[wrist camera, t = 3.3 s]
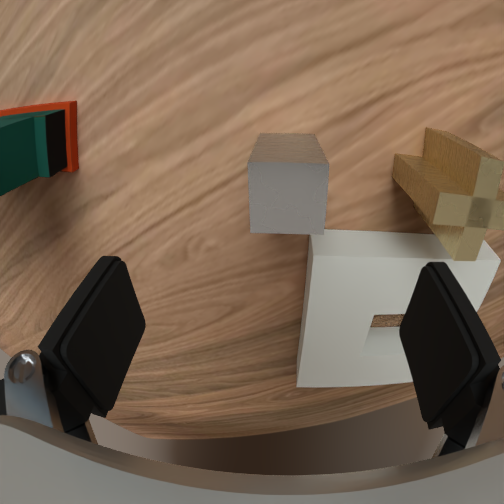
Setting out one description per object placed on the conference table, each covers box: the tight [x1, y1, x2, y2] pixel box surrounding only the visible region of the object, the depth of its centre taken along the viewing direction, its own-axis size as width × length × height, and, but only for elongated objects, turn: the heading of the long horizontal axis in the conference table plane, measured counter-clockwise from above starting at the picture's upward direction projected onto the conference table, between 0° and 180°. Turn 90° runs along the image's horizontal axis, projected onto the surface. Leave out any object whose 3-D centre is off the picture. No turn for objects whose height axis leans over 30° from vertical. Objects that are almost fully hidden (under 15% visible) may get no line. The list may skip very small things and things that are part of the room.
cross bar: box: [392, 127, 504, 261], centre depth 17 cm, size 7×7×8 cm
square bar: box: [248, 133, 329, 235], centre depth 18 cm, size 4×4×8 cm
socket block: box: [297, 229, 501, 387], centre depth 27 cm, size 18×18×4 cm
